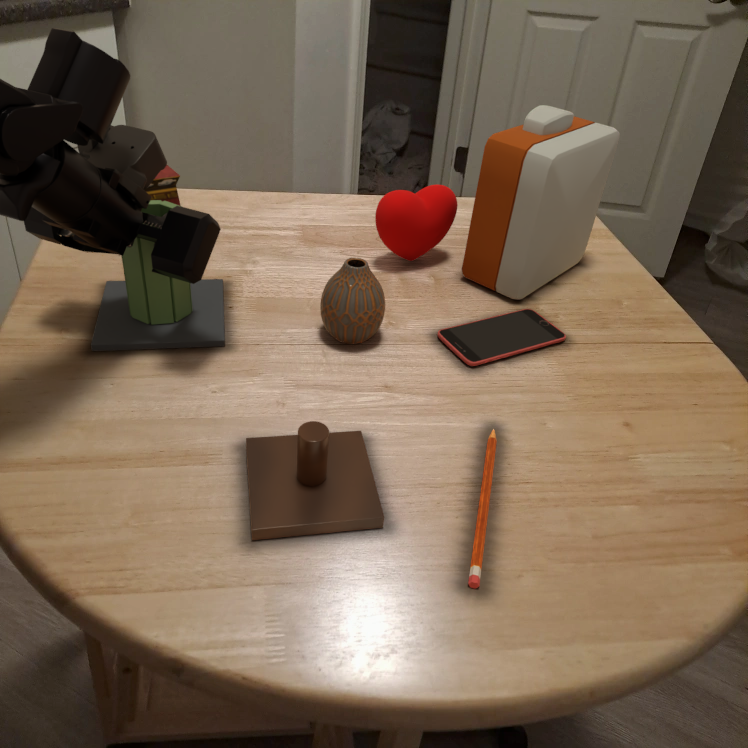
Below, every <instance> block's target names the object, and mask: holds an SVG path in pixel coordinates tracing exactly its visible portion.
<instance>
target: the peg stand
mask: <svg viewBox="0 0 748 748" xmlns="http://www.w3.org/2000/svg"><path fill="white" fill-rule="evenodd" d="M245 448H246V450H245V451H246V465H247V479H248V480H247V481H248V483H247V484H248V495H249V496H248V497H249V498H248V499H249V512H250V528H251V530H250V531H251V540H252V541H259V540H269V539H270V540H271V539H279V538H280V539H281V538H290V537H299V536H300V537H301V536H309V535H310V536H311V535H321V534H330V533H340V532H342V533H343V532H351V531H352V532H353V531H363V530H373V529H381V528H384V524H385V523H384V522H385V515H384V511H383V507H382V504H381V500H380V495H379V491H378V489H377V485H376V482H375V481H376V480H375V477H374V474H373V469H372V466H371V462H370V458H369V455H368V451H367V447H366V443H365V440H364V436H363V432H362V430H350V431H349V430H348V431H347V430H346V431H334V432H333V431H332V432H330V429H329V427H328V426H327V425H326V424H325V423H322V422H321V421H313V420H311V421H307V422H304V423H302V424H301V425H299V426H298V429H297V434H289V435H288V434H285V435H271V436H259V437H258V436H257V437H245Z"/></svg>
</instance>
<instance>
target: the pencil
mask: <svg viewBox="0 0 748 748" xmlns="http://www.w3.org/2000/svg"><path fill="white" fill-rule="evenodd" d="M497 442H498V441H497V436H496V431H495V428H493V429H492V430H491V432H490V434H489V436H488V438H487V443H486V451H485V459H484V465H483V473H482V479H481V480H482V481H481V486H480V487H481V488H480V494H479V502H478V511H477V517H476V526H475V531H474V538H473V547H472V553H471V561H470V567H469V576H468V582H467V583H468V586H469V588H471V589H477V588H479V587H480V585H481V577H482V569H483V568H482V566H483V559H484V549H485V544H486V543H485V542H486V534H487V524H488V518H489V517H488V516H489V511H490V510H489V509H490V500H491V493H492V484H493V477H494V475H493V474H494V468H495V458H496V449H497Z"/></svg>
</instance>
